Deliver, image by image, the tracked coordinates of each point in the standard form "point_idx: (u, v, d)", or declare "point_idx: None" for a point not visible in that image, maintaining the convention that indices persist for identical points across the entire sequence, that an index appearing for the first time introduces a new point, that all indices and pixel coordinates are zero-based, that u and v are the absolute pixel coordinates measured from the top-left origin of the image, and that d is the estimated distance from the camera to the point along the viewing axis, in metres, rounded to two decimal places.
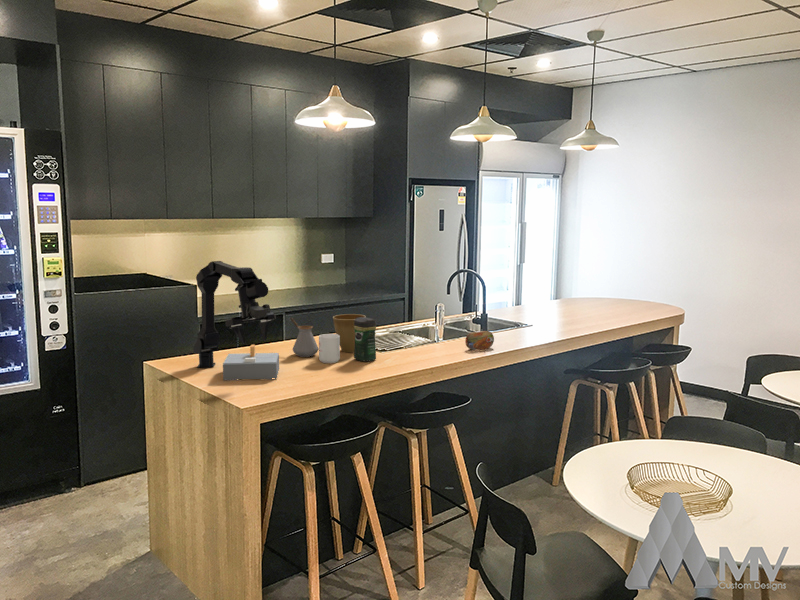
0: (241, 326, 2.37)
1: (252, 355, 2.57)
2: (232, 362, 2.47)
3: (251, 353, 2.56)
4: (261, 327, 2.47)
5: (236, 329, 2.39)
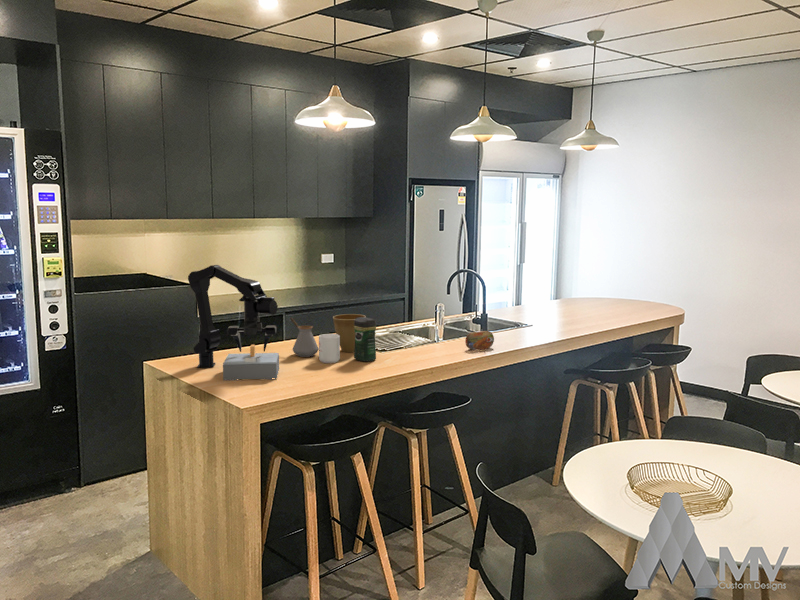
0: (235, 337, 2.54)
1: (252, 355, 2.57)
2: (232, 362, 2.47)
3: (251, 353, 2.56)
4: None
5: None
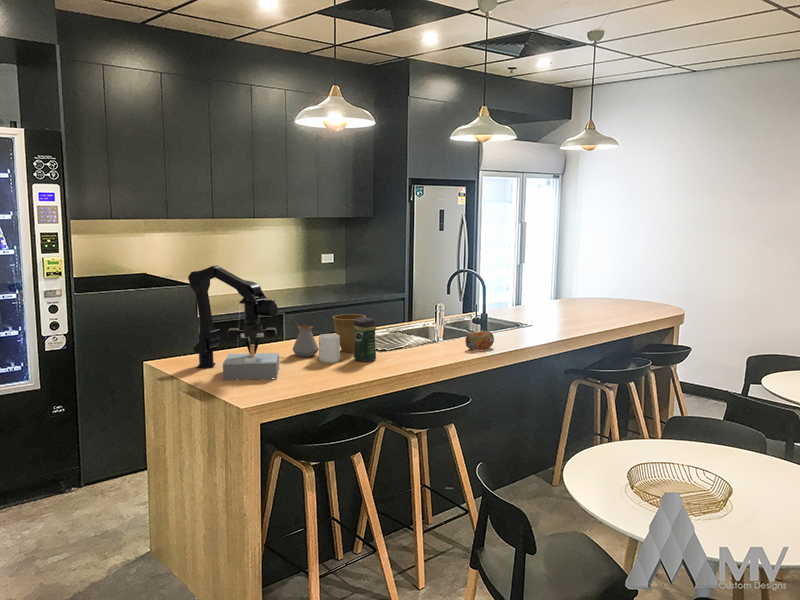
0: (245, 339, 2.55)
1: (252, 355, 2.57)
2: (232, 362, 2.47)
3: (251, 353, 2.56)
4: None
5: None
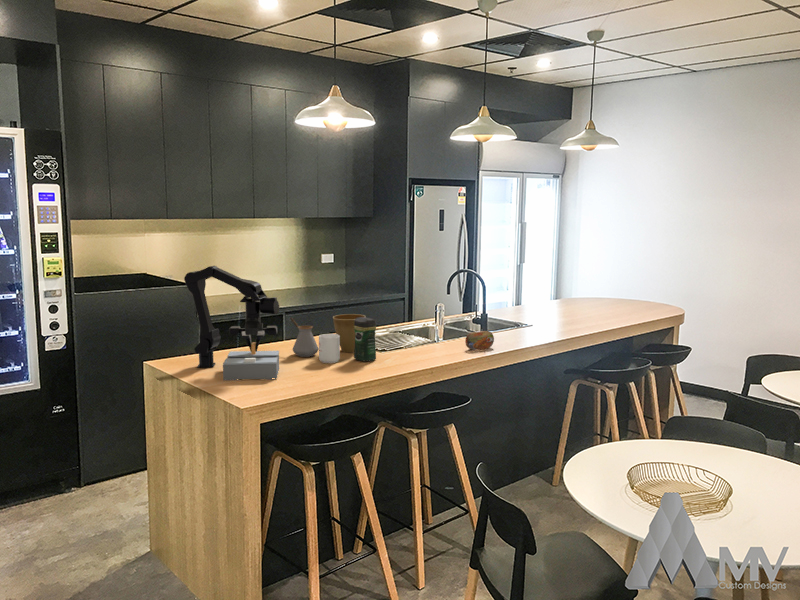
0: (246, 337, 2.59)
1: (253, 353, 2.61)
2: (232, 362, 2.47)
3: (252, 351, 2.60)
4: None
5: None
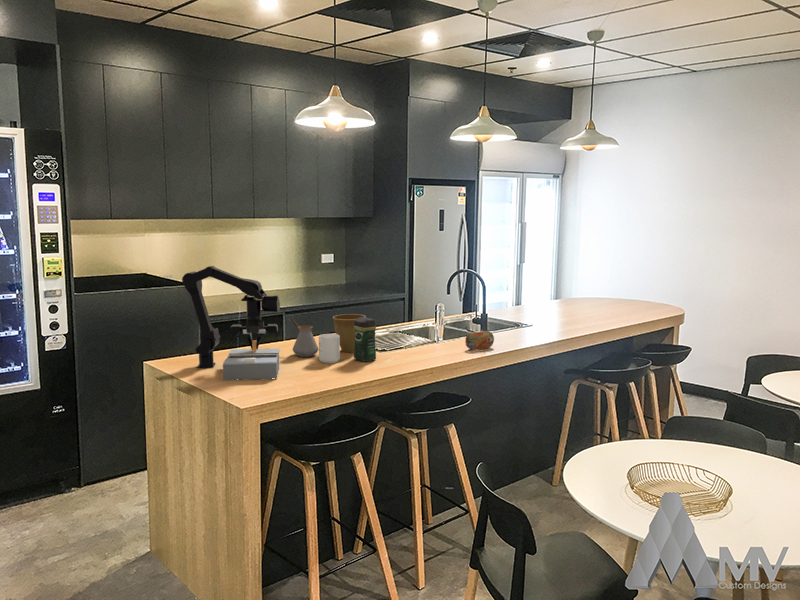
0: (247, 335, 2.62)
1: (254, 351, 2.64)
2: (232, 362, 2.47)
3: (253, 349, 2.64)
4: None
5: None
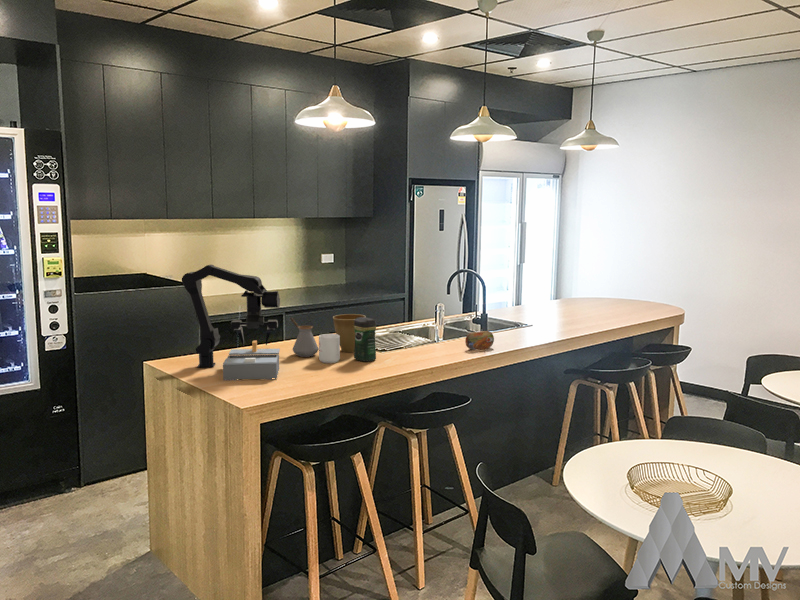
0: (238, 331, 2.62)
1: (254, 351, 2.64)
2: (232, 362, 2.47)
3: (253, 349, 2.64)
4: None
5: None
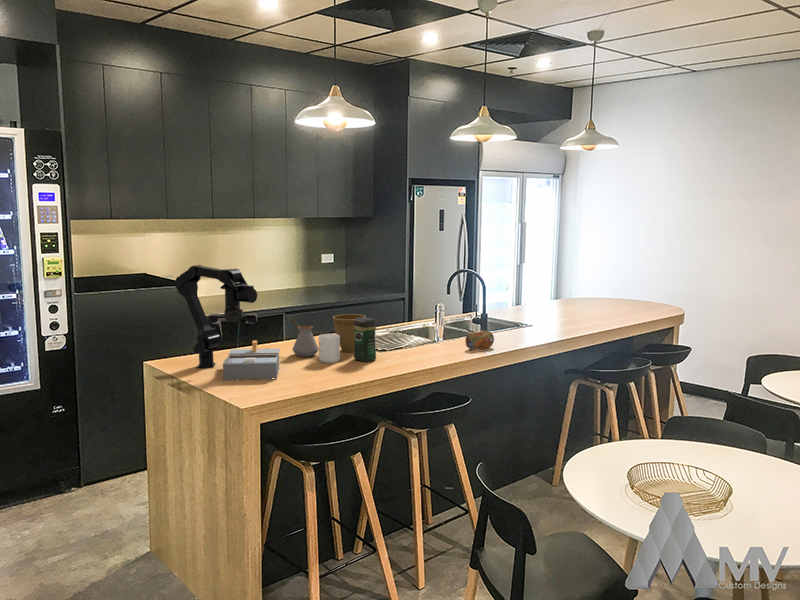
0: (216, 324, 2.55)
1: (254, 351, 2.64)
2: (232, 362, 2.47)
3: (253, 349, 2.64)
4: None
5: None
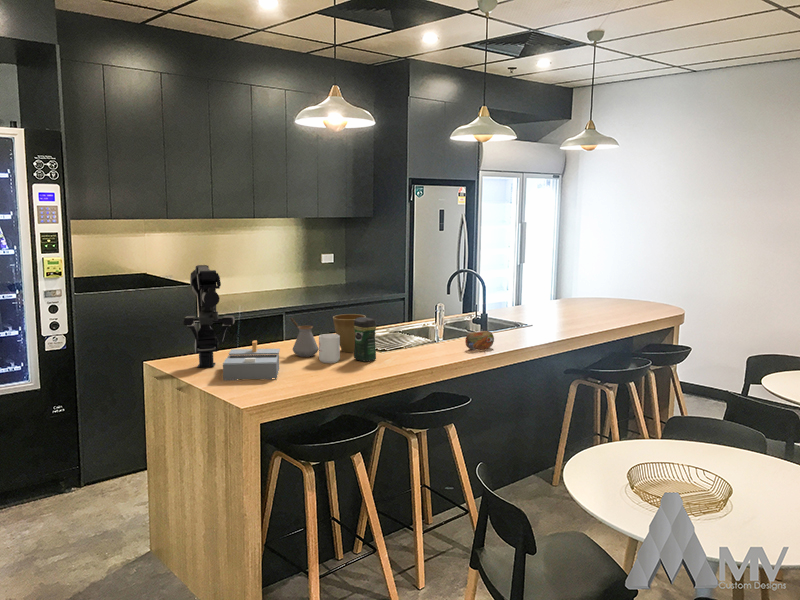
0: (191, 327, 2.49)
1: (254, 351, 2.64)
2: (232, 362, 2.47)
3: (253, 349, 2.64)
4: None
5: None
